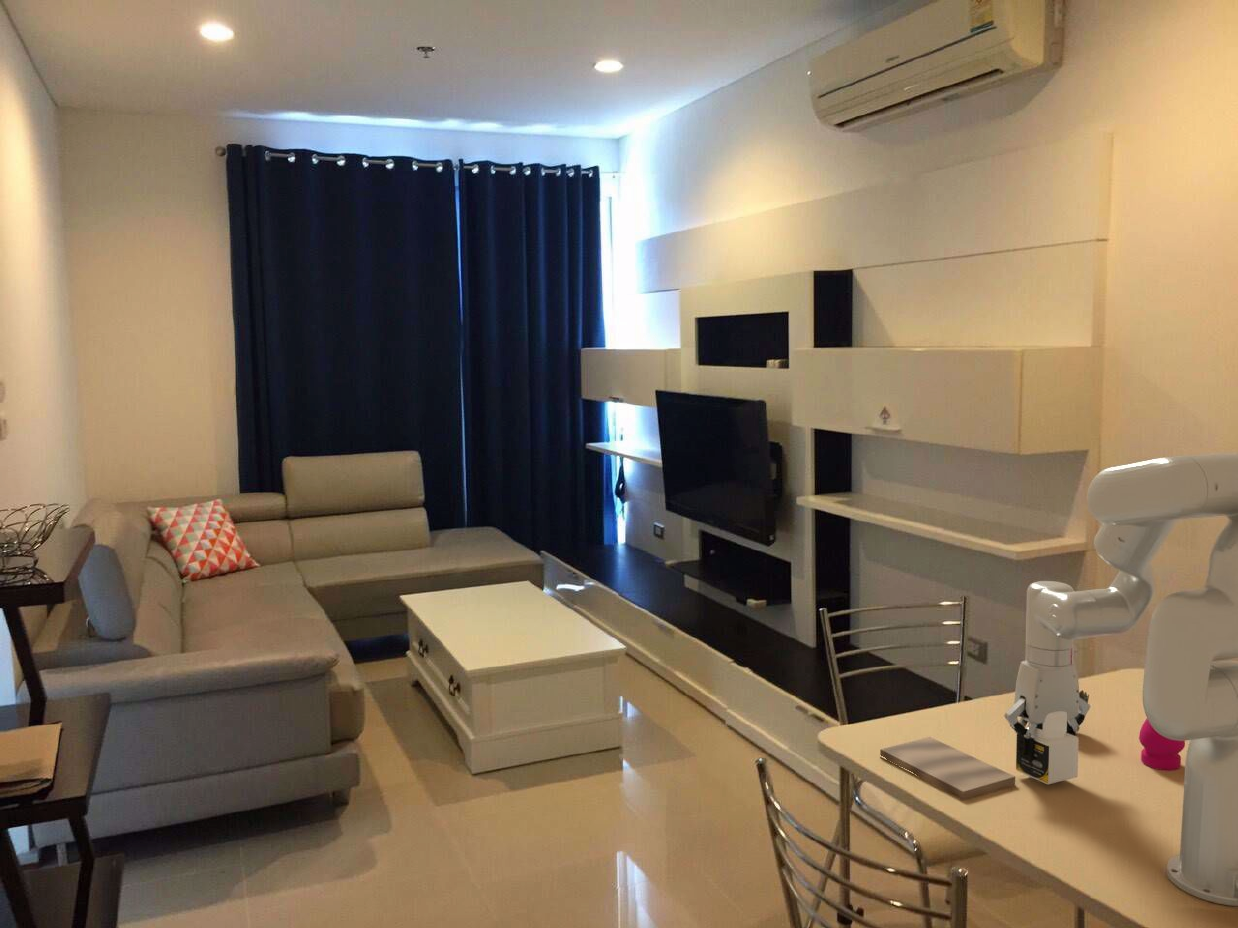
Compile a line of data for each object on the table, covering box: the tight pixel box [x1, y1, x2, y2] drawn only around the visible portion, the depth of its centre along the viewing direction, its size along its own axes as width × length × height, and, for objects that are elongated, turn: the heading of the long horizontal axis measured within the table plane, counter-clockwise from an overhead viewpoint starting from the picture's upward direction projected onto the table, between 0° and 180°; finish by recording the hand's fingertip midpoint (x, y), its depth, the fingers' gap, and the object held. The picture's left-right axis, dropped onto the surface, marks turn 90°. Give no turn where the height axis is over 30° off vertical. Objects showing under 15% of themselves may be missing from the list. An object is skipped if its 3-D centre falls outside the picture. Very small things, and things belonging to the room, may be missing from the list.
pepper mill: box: [1138, 718, 1186, 771], centre depth 183 cm, size 7×7×20 cm
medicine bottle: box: [1015, 711, 1079, 785], centre depth 177 cm, size 7×7×12 cm
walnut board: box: [879, 736, 1016, 801], centre depth 182 cm, size 20×12×2 cm, turn 27°
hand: (1046, 754), depth 177 cm, fingers closed on medicine bottle, 7 cm apart
